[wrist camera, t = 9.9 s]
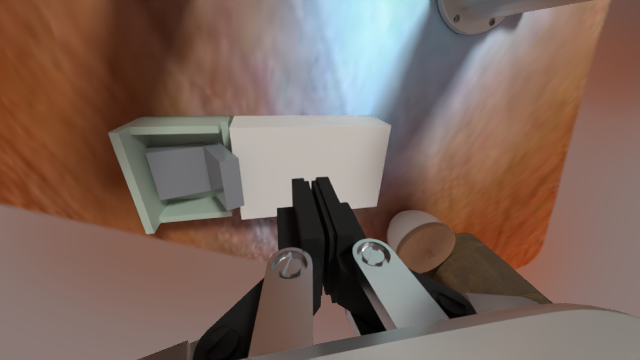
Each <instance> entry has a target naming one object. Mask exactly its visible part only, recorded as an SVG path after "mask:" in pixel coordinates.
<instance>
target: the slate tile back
mask: <svg viewBox="0 0 640 360" xmlns="http://www.w3.org/2000/svg"><path fill="white" fill-rule="evenodd" d="M204 145H205V143H204V142H196V143H187V144H178V145H168V146H159V147H150V148H146V153H145V154H146V157H147V160H148V163H149V167H150V170H151V173H152V176H153V179H154V182H155V185H156V188H157V192H158V195H159V198H160V201H161V200H166V199H171V198H176V197H181V196H186V195H191V194H196V193H201V192H206V191H211V185H210V180H209V175H208V169H207V164H206V159H205V154H204V149H203V146H204Z"/></svg>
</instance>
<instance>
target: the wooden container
mask: <svg viewBox="0 0 640 360" xmlns="http://www.w3.org/2000/svg"><path fill="white" fill-rule="evenodd" d="M423 275H424V276H426V277H428V278H430V279H432V280H434V281H436V282H438V283H440V284H443V285H445V286H447V287H449V288H451V289H453V290H455V291H457V292H458V293H460V294H461V295H463V296H464V295H465V293H475V294H489V295H503V296H518V297H524V298H528V299H530V300H533V301H535V302H537V303H539V304H548V303H552V302H551V301H550V300H548V299H547V298H546V297H545V296H544V295H542V294H541V293H540V292H539V291H538V290H536V289H535V287H533V286H532V285H531V284H530V283H529V282H528V281H527V280H525V279H524V278H523V277H522V276H521V275H520V274H518V273H517V272H516V271H515V270H514V269H513V268H512V267H511V266H510V265H508V264H507V263H506V262H505V261H504V260H502V259H501V258H500V257H499V256H498V255H497V254H495V253H494V252H493V251H492V250H491V249H489V248H488V247H487V246H486V245H485V244H483V243H482V242H481V241H480V240H479V239H478V238H476V237H475V236H473V235H471V234H467V233H461V234H455V245H454V248H453V250H452V252H451V253H450V255H449V256H448V257H447V258H446V259H445V260H444V261H443V262H442V263H441V264H440V265H438V266H437V267H435V268H433V269H431V270H429V271H427V272H423Z"/></svg>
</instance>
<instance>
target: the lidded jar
mask: <svg viewBox="0 0 640 360" xmlns="http://www.w3.org/2000/svg"><path fill="white" fill-rule="evenodd" d="M387 243H388V246H389V247H390V248H391V249H392V250H393V251H394V252H395V253H396V255H397V256H398V257H399V258H400V259H401V261H402V262H403V263H404V264H405V265H406V267H407V268H409V269H411V270H413V271H415V272H417V273H423V272H427V271H429V270H431V269H433V268H435V267H437V266H438V265H440V264H441V263H442V262H443V261H444V260H445V259H446V258H447V257H448V256H449V255H450V253H451V252H452V250H453V248H454V245H455V234H454V232H453V230H452V229H451V228H450V227H448V226H447V225H445V224H444V223H443V222H442V221H440V220H439V219H438V218H436V217H435V216H433V215H431V214H429V213H427V212H424V211H420V210H410V211H409V210H407V211H402V212H400V213H398V214H397V215H395V216H394V217H393V218H392V220H391V221H390V223H389V227H388V231H387Z"/></svg>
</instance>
